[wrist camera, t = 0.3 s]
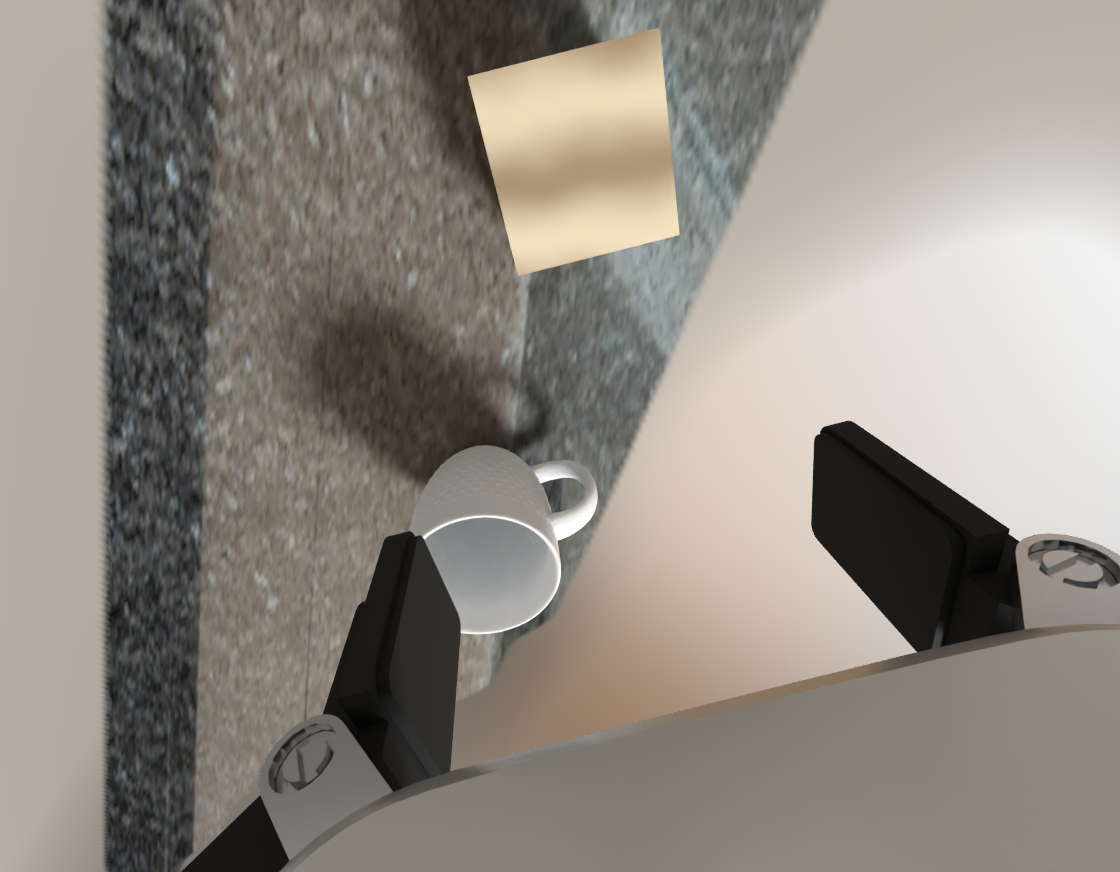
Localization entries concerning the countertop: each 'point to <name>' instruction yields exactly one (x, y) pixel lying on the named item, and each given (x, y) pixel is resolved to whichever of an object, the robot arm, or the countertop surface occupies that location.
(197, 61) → the countertop surface
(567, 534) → the mug
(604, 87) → the stool
